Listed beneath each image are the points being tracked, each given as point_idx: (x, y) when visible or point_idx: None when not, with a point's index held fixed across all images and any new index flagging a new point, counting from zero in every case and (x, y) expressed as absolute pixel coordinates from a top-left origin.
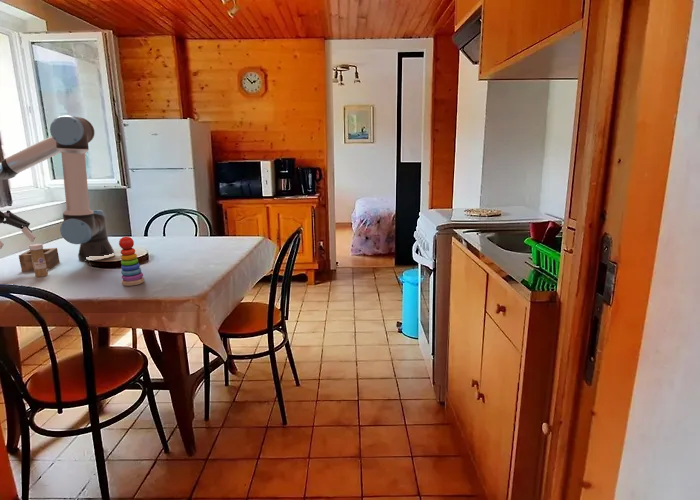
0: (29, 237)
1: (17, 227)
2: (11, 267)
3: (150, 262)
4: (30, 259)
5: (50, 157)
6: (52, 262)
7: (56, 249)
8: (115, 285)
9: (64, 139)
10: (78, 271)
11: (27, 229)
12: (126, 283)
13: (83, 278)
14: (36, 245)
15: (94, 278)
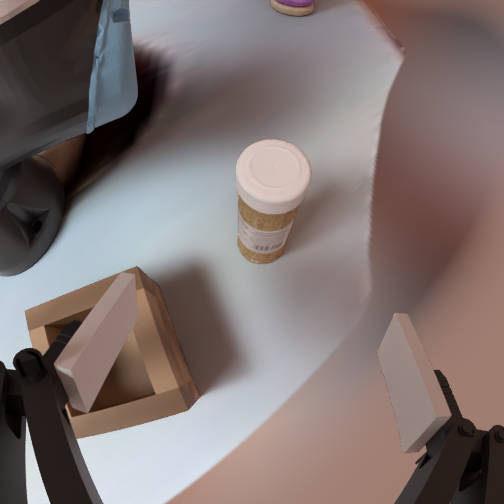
0: (124, 327)
1: (80, 452)
2: (150, 487)
3: None
4: (172, 355)
5: None
6: None
7: (36, 308)
8: (311, 23)
9: None
10: (196, 146)
11: (83, 334)
12: (313, 5)
13: (274, 90)
14: (293, 147)
15: (270, 68)
